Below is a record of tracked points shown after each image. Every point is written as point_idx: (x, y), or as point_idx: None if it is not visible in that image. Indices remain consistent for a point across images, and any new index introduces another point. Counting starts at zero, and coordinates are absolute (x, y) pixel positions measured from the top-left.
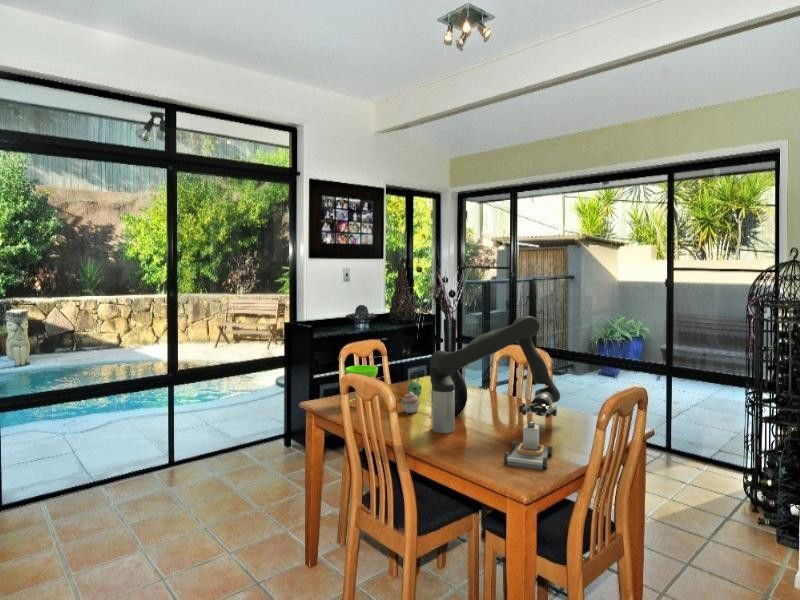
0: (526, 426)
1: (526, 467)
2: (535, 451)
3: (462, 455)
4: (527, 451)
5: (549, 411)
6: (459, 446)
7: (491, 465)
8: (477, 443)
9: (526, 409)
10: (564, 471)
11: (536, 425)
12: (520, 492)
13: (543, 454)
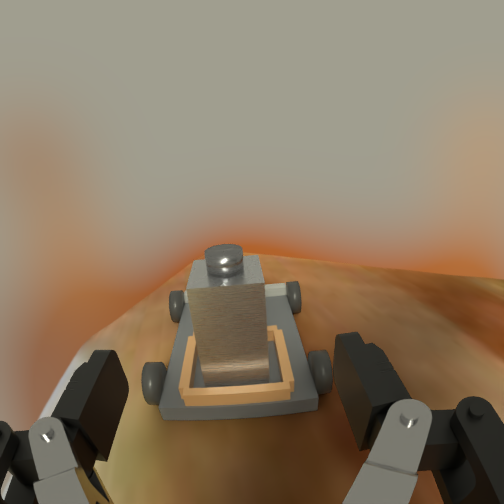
0: (247, 264)
1: None
2: None
3: (419, 298)
4: None
5: (63, 417)
6: (480, 330)
7: (319, 289)
8: (473, 374)
9: (362, 402)
10: (132, 316)
11: (200, 282)
12: None
13: (184, 352)
